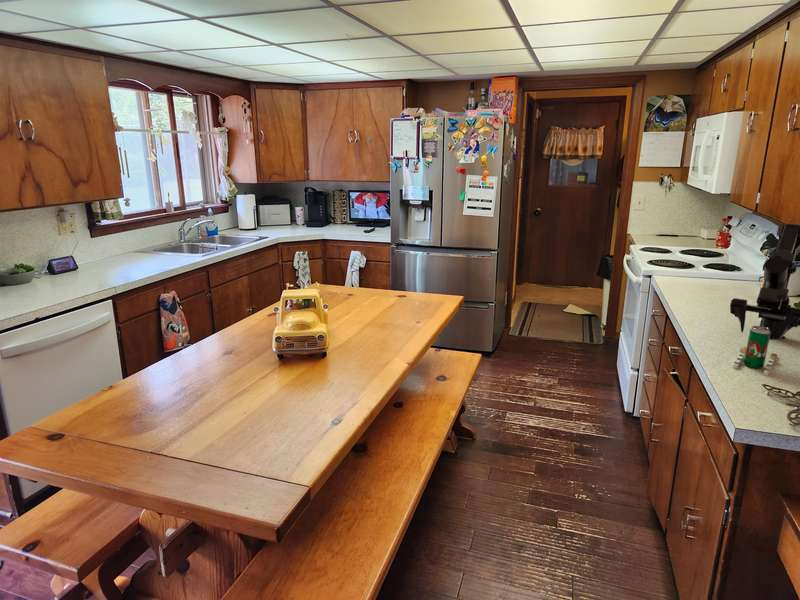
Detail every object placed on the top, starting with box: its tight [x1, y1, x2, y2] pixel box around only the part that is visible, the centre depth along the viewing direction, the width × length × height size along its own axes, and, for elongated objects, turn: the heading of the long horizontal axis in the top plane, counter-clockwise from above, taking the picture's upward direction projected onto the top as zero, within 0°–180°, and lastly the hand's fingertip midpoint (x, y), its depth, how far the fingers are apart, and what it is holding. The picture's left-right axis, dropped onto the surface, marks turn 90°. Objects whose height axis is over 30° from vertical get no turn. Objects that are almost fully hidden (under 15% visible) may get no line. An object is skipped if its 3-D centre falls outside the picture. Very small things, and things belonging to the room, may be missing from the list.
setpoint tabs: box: [739, 347, 778, 361], centre depth 163 cm, size 2×10×1 cm, turn 49°
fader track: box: [732, 345, 778, 377], centre depth 160 cm, size 20×8×2 cm, turn 139°
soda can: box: [743, 325, 771, 370], centre depth 156 cm, size 5×5×12 cm
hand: (760, 335), depth 156 cm, fingers open, 9 cm apart
